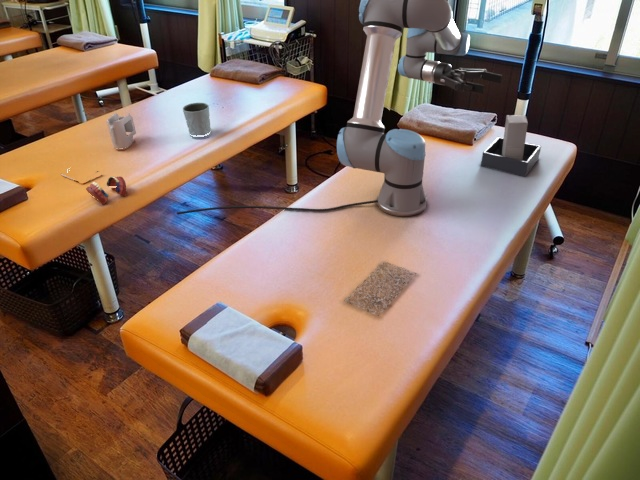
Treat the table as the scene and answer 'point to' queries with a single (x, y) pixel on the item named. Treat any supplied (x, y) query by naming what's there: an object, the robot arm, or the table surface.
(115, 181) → the teeth model
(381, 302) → the rug
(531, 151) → the box
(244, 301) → the table surface
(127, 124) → the cable organizer
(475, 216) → the table surface
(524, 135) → the cosmetic box
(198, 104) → the drinking glass
